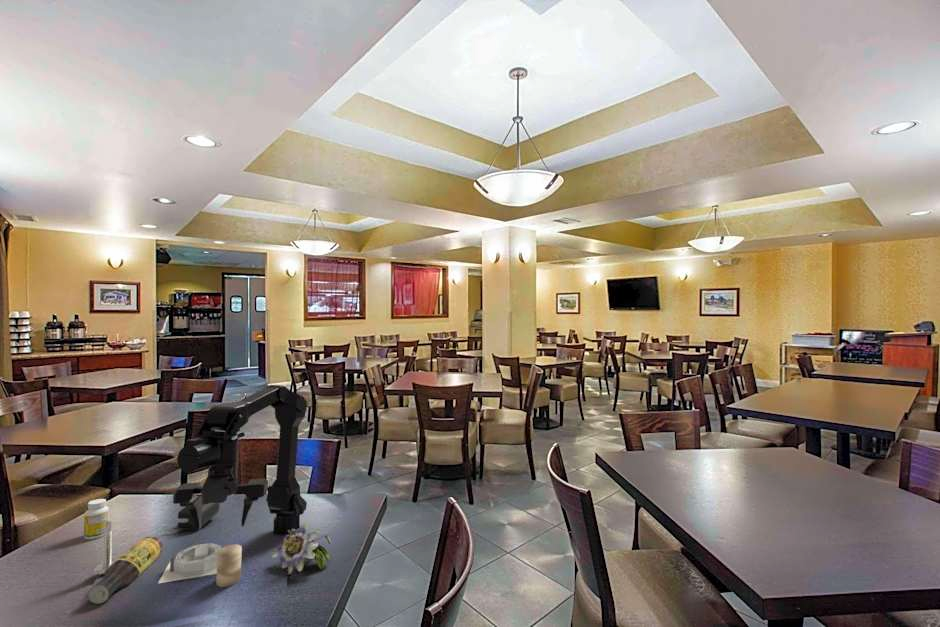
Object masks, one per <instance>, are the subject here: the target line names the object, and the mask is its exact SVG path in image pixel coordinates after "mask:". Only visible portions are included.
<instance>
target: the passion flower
mask: <svg viewBox="0 0 940 627" xmlns="http://www.w3.org/2000/svg"><path fill="white" fill-rule="evenodd" d="M288 533H289V534H288V535H285V537H283V539H281V542H282V544H281V545H278V547H277V550H276V551H275V552H273V553H272V554H271V557H272V558H273V559H277V558H279V560H280V562H281V568H280V569H287V574H286V575H287V576H290V575H292V573H293V572H294V571H295V568H296V570H297V571H298V572H302V571H303V570H304V568H305V562H306V559H308V560H313V559H314V560H315V562H316V564H317V566H318V568H319V570H323V569H324V568H325V558H326V560H327V563H329V562H330V558H329V556H330V555H329V551H328V550H327V549H326V548H325V547H324V546H322V545H321V544H319V543H318V542H317V541H319V540H320V539H322V538H324V537H325V539H326V540H327V543H328V544H329V545H330V544H331V539H330V537H329V536H328V534H324V535H323V536H321V537H319V538H317V537H318V536H319V535H320V531H317V530H316V531H314V532H311V533H308V523H306V522H305V523H303V524H302V525H301V526H300V529H299V528H298V529H297V530H296V529H292V530H291V532H290V530H288ZM315 539H316V540H315Z"/></svg>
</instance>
